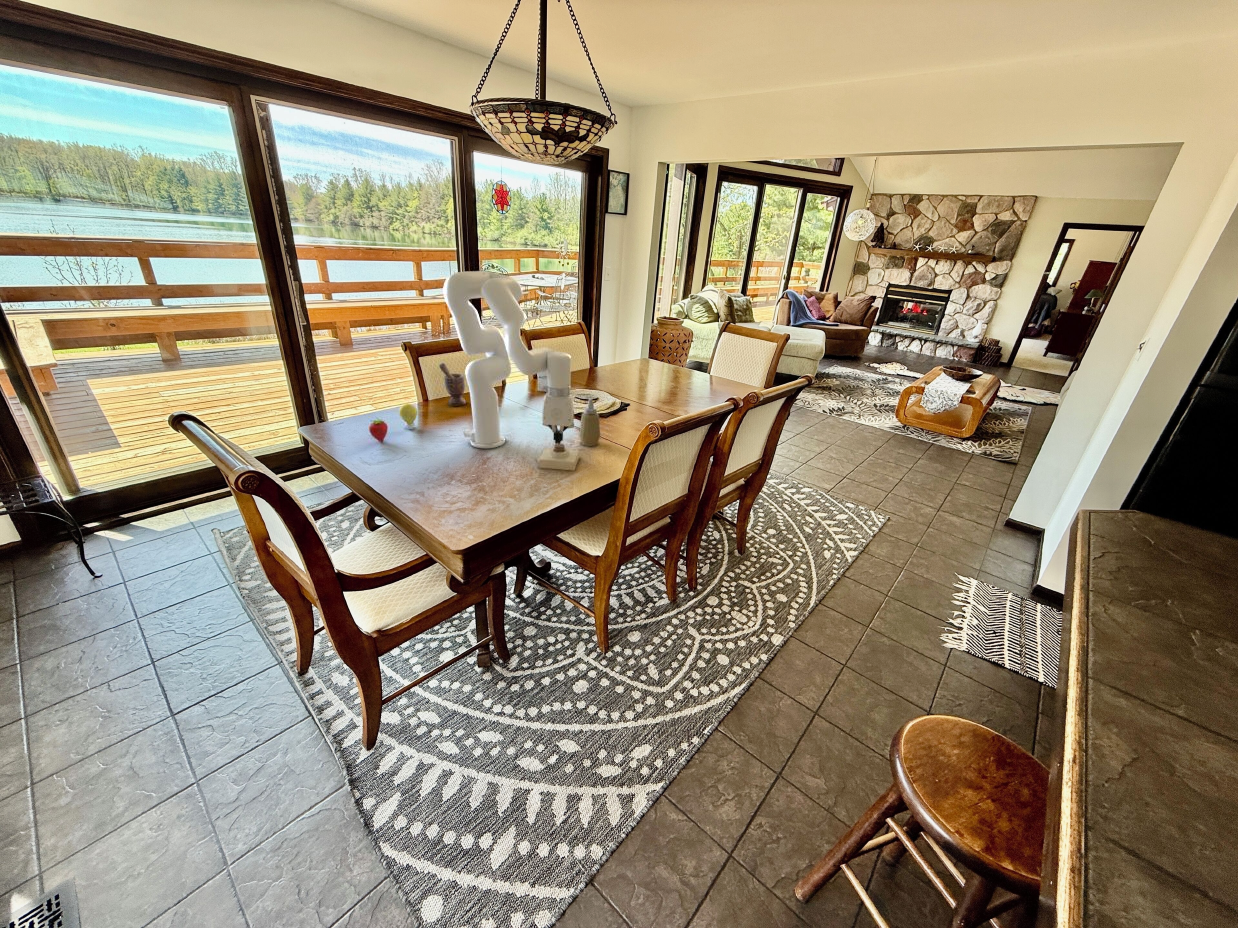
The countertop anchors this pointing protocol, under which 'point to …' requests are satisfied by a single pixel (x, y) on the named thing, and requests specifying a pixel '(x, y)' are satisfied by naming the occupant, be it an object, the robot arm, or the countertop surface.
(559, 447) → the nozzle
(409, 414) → the light bulb
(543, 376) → the white packaging box
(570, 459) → the beige push button box
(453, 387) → the mortar and pestle
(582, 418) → the squeeze bottle
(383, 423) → the strawberry
